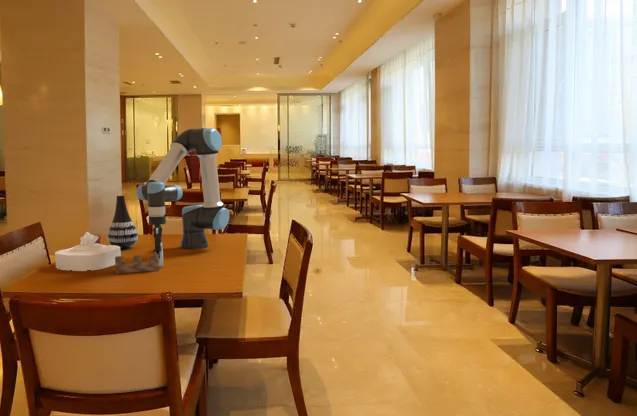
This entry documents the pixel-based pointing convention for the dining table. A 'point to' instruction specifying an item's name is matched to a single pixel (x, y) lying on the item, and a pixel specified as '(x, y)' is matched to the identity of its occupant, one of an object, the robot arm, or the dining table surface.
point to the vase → (122, 226)
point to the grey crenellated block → (137, 264)
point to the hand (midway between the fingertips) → (159, 263)
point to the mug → (98, 238)
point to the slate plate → (161, 256)
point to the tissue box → (87, 255)
